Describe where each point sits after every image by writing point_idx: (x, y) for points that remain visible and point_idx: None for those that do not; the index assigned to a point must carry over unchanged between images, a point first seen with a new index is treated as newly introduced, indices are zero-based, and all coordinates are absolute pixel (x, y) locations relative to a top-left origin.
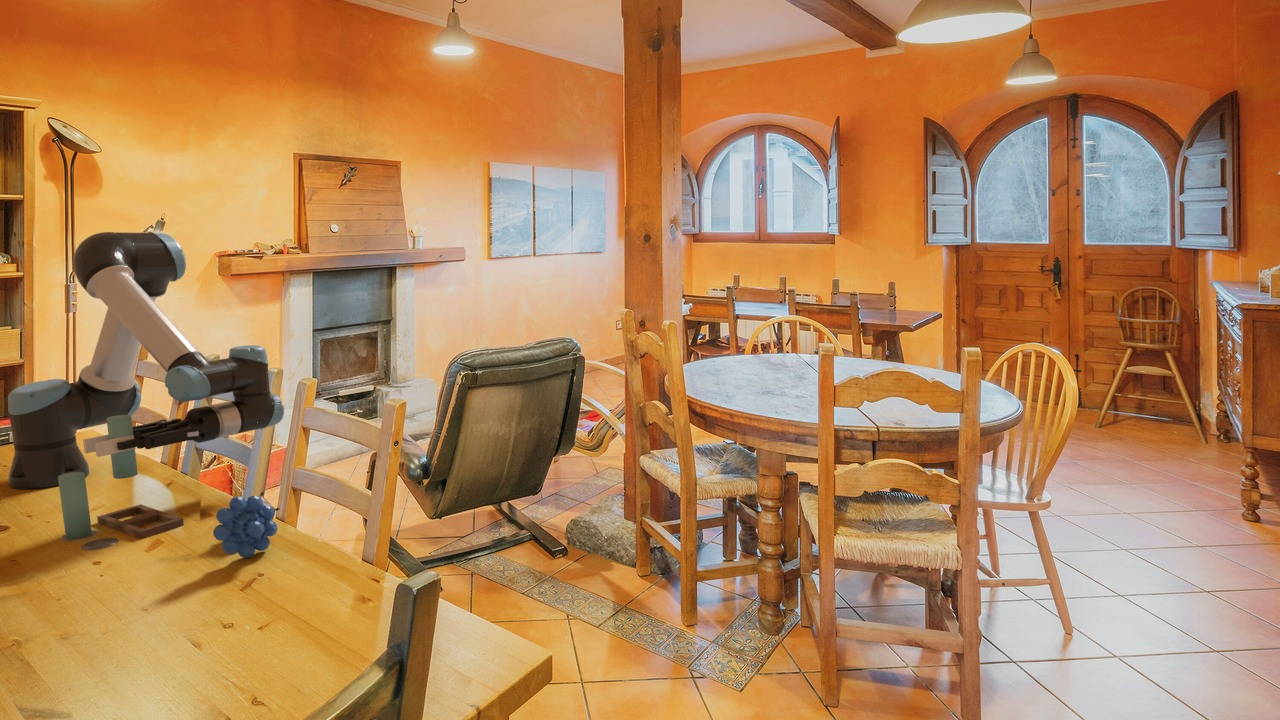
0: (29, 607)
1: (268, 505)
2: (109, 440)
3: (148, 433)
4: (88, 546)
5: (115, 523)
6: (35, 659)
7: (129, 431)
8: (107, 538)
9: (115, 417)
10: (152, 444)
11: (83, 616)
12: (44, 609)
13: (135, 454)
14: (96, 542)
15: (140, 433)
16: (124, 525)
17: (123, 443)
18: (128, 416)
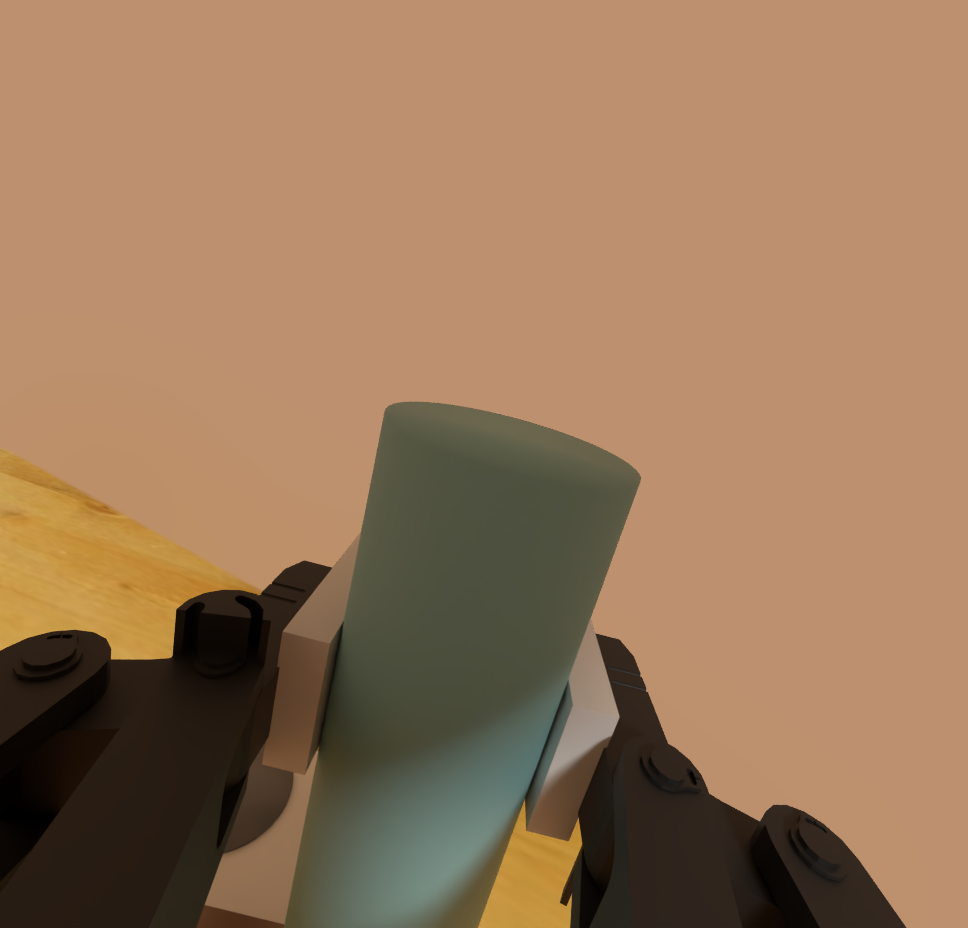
0: (173, 566)
1: None
2: None
3: (145, 801)
4: (258, 758)
5: (283, 925)
6: (32, 487)
7: (352, 588)
8: (237, 838)
9: (532, 437)
10: (14, 863)
11: (10, 550)
12: (131, 562)
13: (330, 898)
14: (255, 793)
15: (181, 612)
16: (203, 917)
17: (281, 577)
18: (439, 437)
